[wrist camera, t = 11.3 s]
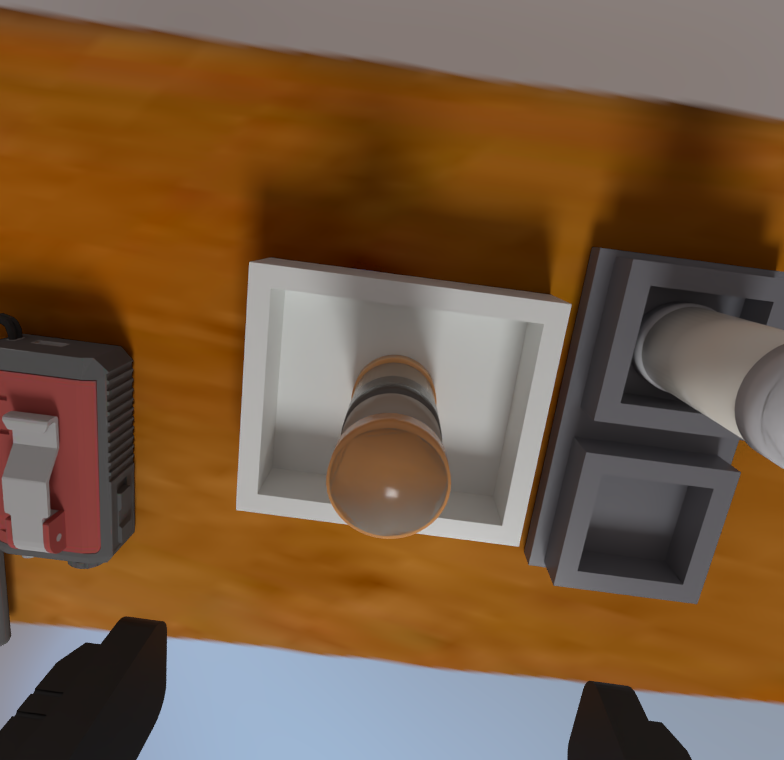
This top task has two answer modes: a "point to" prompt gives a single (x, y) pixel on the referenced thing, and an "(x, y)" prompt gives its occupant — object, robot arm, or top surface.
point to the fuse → (718, 369)
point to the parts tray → (407, 338)
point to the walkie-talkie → (63, 451)
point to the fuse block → (639, 437)
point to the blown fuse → (390, 452)
